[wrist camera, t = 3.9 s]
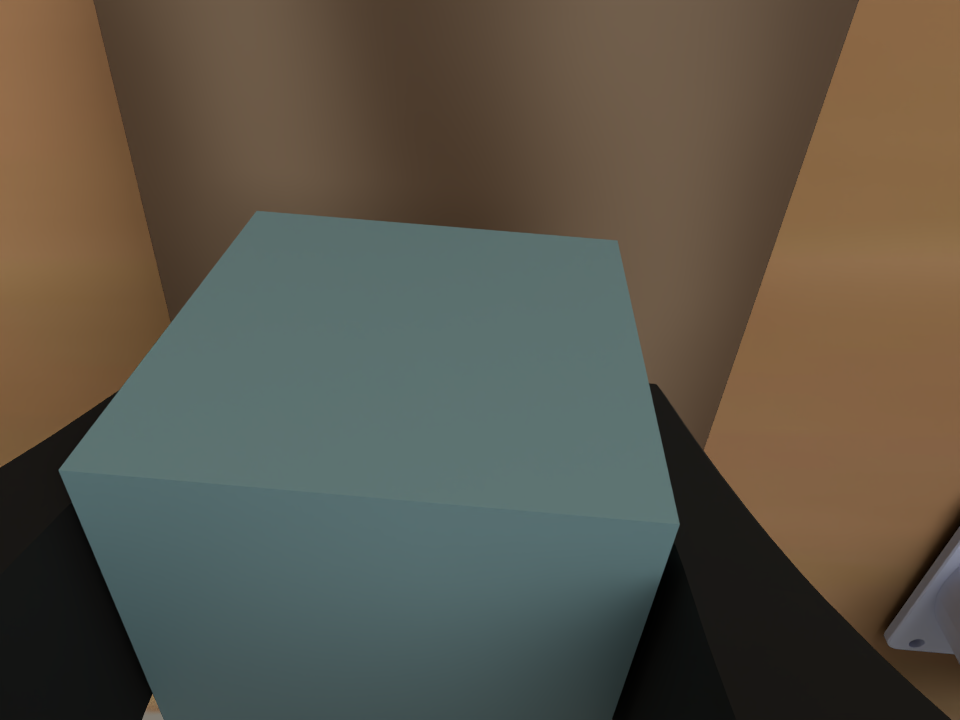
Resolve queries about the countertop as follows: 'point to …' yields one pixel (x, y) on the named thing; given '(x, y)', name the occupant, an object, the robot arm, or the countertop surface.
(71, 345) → the countertop surface
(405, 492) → the teal cube
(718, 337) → the walnut block
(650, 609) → the robot arm
